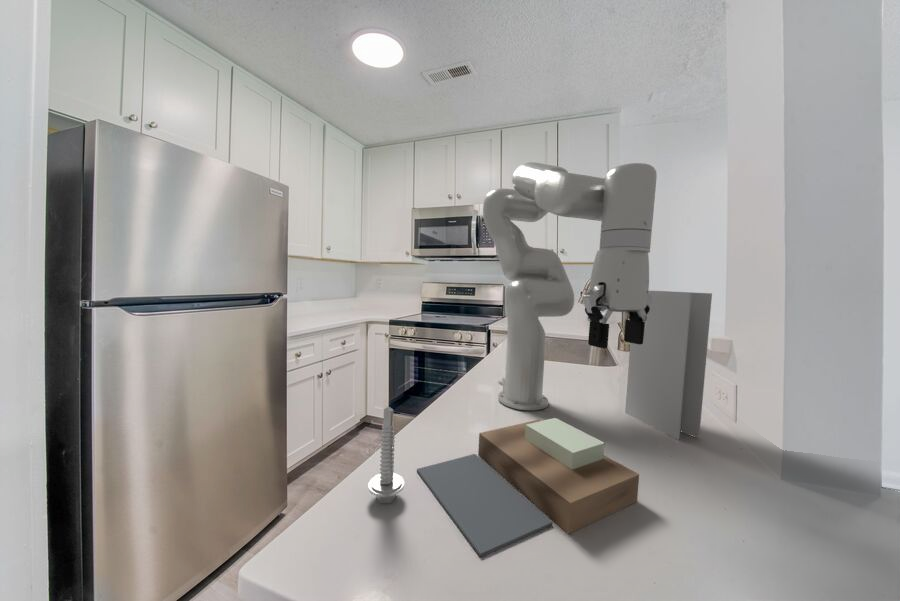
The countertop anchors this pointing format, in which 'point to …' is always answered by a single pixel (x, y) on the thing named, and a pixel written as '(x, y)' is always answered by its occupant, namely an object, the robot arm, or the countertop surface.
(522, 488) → the brown wooden flat block
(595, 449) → the tile
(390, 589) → the countertop surface
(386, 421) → the screw
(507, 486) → the mat
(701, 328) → the brochure
